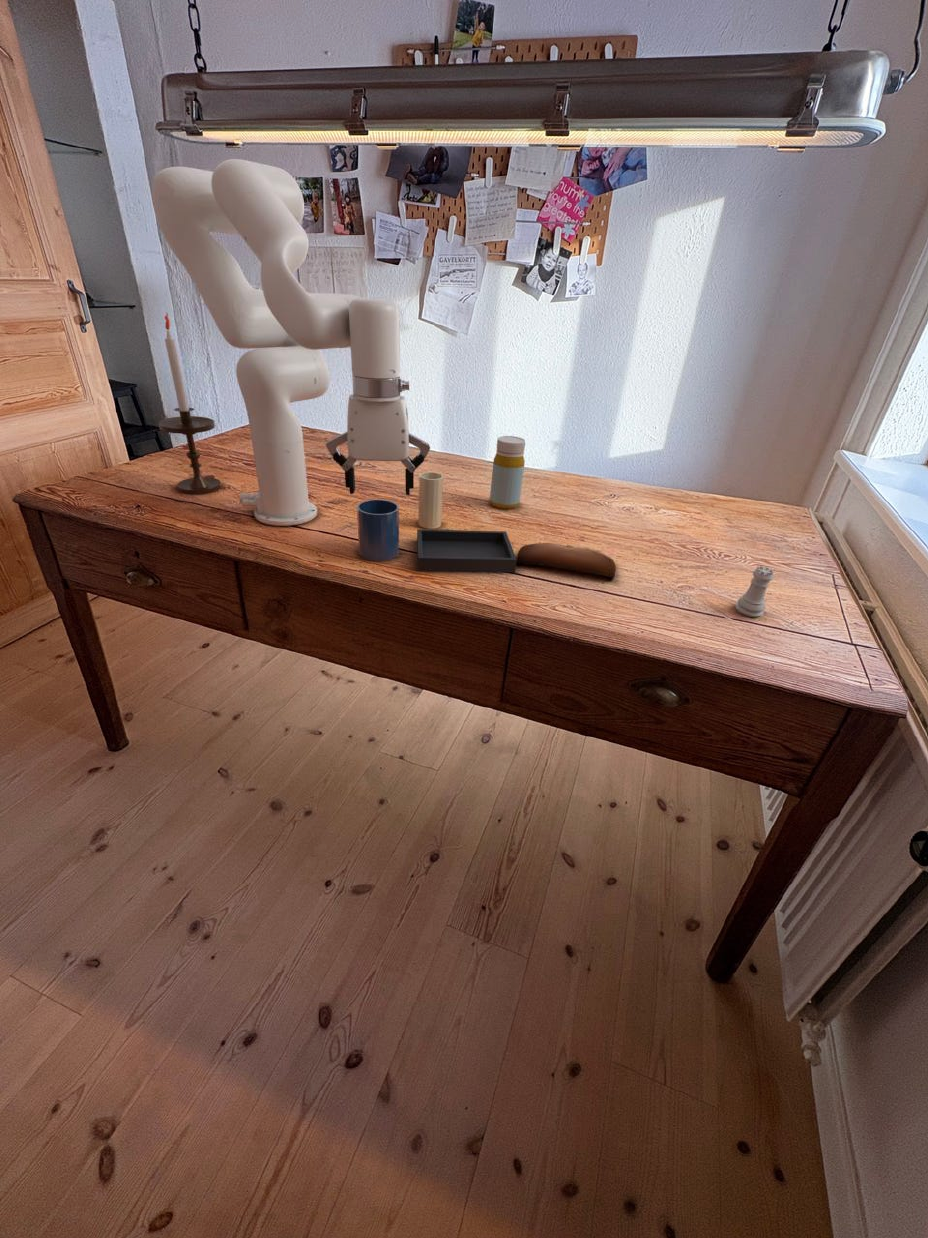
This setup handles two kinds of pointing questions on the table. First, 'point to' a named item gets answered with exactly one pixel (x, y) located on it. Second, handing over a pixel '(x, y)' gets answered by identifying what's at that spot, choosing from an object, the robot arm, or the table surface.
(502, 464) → the bottle
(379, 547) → the big cup
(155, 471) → the table surface
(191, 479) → the candlestick
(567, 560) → the sunglasses case
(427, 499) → the small cup
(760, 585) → the rook chess piece
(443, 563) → the tray
